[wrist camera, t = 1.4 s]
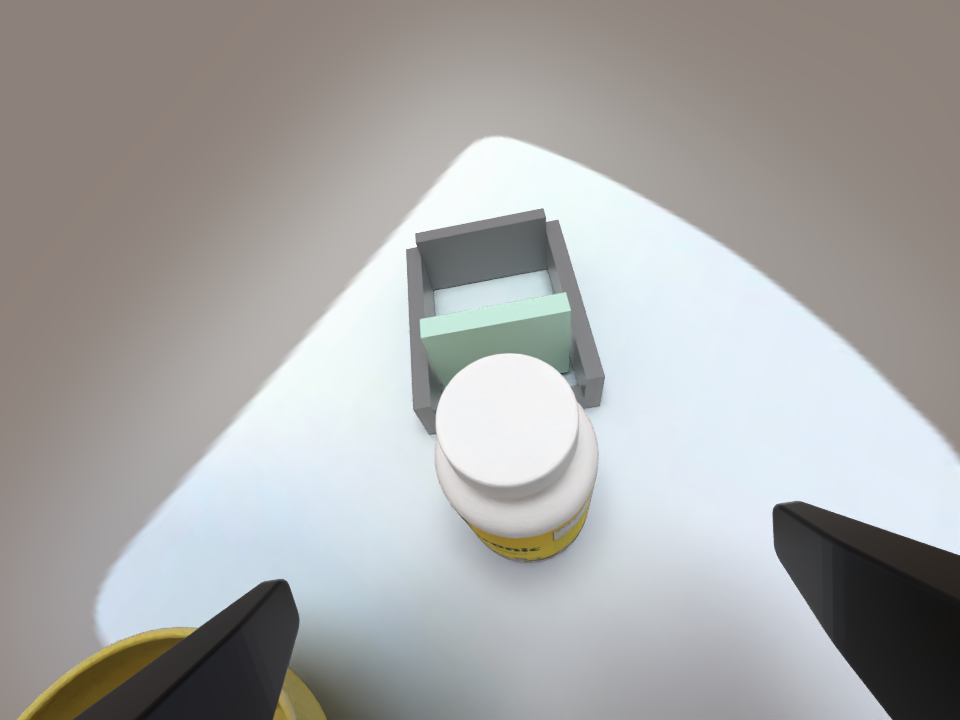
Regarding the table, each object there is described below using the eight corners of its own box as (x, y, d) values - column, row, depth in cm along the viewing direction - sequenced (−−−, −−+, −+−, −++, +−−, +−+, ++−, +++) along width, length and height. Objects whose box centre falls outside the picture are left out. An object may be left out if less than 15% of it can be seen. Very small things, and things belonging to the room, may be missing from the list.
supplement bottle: (444, 511, 21) (370, 429, 13) (516, 423, 23) (491, 301, 15) (539, 594, 19) (524, 561, 11) (612, 490, 21) (647, 391, 12)
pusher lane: (599, 405, 23) (606, 365, 19) (429, 434, 23) (407, 399, 20) (558, 257, 28) (558, 205, 25) (419, 284, 29) (401, 236, 25)
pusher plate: (568, 371, 24) (571, 310, 19) (446, 392, 24) (420, 338, 20) (564, 355, 24) (565, 292, 20) (444, 376, 25) (419, 319, 20)
